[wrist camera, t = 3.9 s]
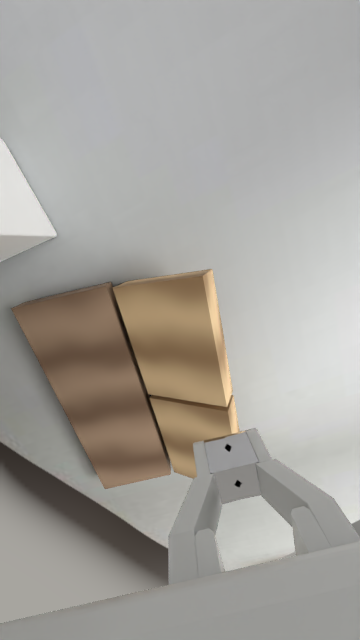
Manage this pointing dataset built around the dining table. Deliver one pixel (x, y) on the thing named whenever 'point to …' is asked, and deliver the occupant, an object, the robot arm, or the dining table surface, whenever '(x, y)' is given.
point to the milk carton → (19, 210)
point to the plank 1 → (177, 336)
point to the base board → (97, 381)
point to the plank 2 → (191, 427)
